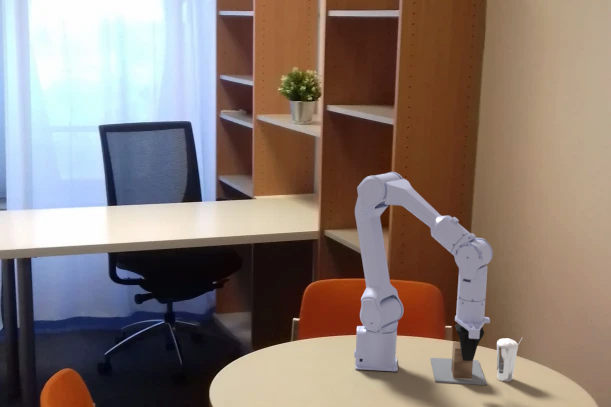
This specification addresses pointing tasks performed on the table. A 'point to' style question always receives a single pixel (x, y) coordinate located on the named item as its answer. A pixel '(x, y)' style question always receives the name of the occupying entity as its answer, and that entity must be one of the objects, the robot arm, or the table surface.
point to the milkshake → (506, 358)
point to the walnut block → (460, 364)
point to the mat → (445, 375)
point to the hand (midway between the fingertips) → (467, 359)
